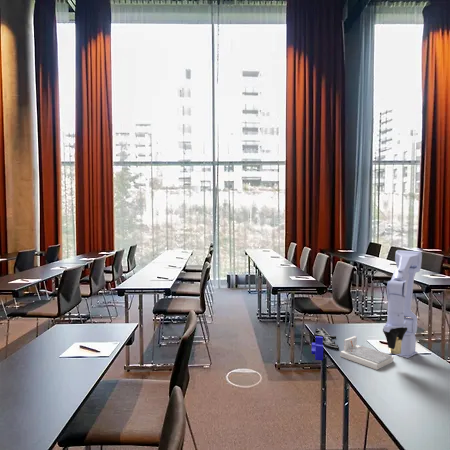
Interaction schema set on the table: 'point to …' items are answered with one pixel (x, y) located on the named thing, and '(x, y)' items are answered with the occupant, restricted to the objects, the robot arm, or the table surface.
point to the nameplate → (326, 338)
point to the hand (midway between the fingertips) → (394, 346)
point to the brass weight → (396, 347)
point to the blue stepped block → (318, 348)
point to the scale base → (352, 344)
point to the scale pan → (370, 354)
